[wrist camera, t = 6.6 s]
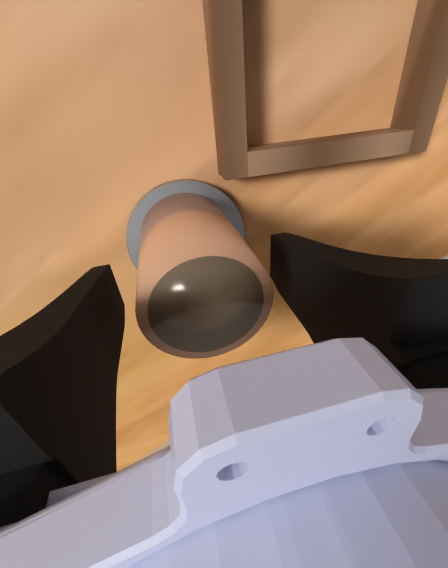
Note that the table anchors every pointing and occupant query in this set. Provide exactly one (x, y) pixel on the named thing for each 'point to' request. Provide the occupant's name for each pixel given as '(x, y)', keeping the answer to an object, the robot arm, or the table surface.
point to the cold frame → (331, 149)
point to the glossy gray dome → (171, 189)
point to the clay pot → (197, 280)
